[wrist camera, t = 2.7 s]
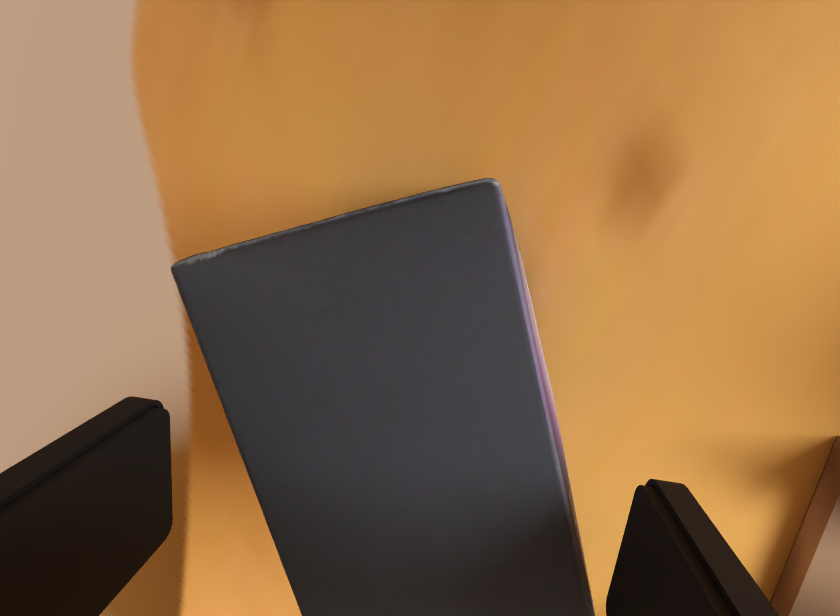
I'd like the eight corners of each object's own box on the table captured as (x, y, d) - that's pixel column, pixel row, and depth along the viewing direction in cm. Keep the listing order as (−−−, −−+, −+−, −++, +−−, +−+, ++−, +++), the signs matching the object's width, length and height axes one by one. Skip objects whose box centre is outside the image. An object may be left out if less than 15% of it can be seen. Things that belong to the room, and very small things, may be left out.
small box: (550, 431, 19) (625, 698, 9) (400, 456, 21) (325, 718, 11) (494, 174, 17) (515, 166, 7) (328, 219, 18) (144, 267, 8)
